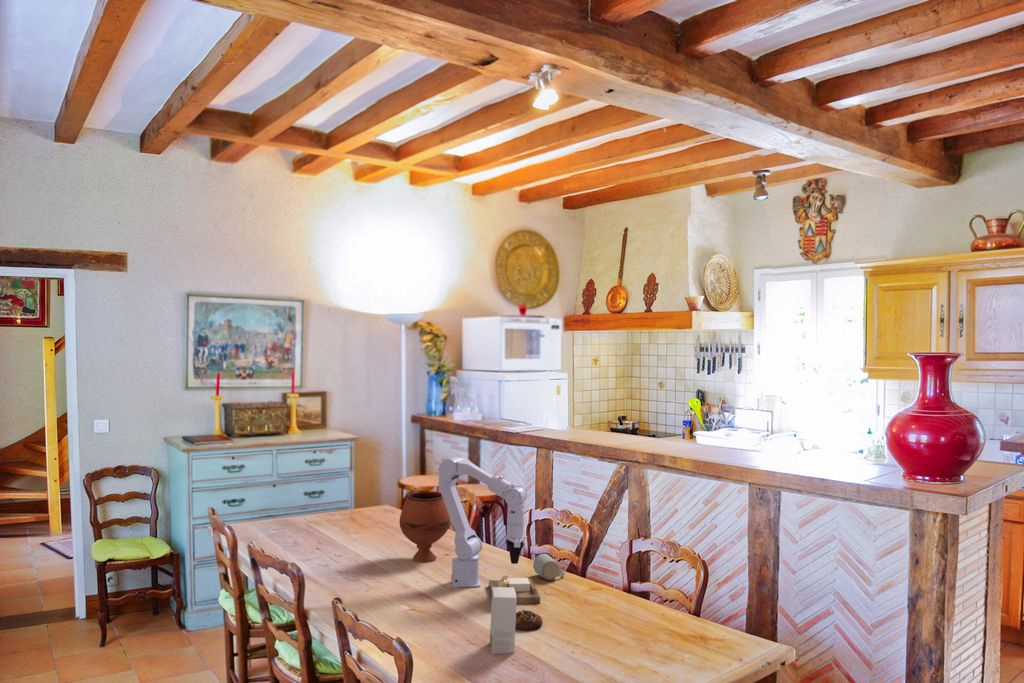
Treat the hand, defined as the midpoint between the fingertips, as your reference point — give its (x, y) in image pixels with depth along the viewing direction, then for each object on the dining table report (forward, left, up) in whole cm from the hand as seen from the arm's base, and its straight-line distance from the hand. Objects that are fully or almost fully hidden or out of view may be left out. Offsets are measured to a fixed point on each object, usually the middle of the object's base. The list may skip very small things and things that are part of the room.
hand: (514, 563), depth 257 cm
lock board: (0, -4, -9) cm, 10 cm away
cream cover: (+1, -4, -7) cm, 8 cm away
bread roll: (0, -30, -10) cm, 32 cm away
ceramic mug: (+15, +15, -10) cm, 23 cm away
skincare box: (-9, -48, -10) cm, 50 cm away
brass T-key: (-5, -12, -7) cm, 15 cm away
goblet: (-30, +38, -10) cm, 50 cm away
